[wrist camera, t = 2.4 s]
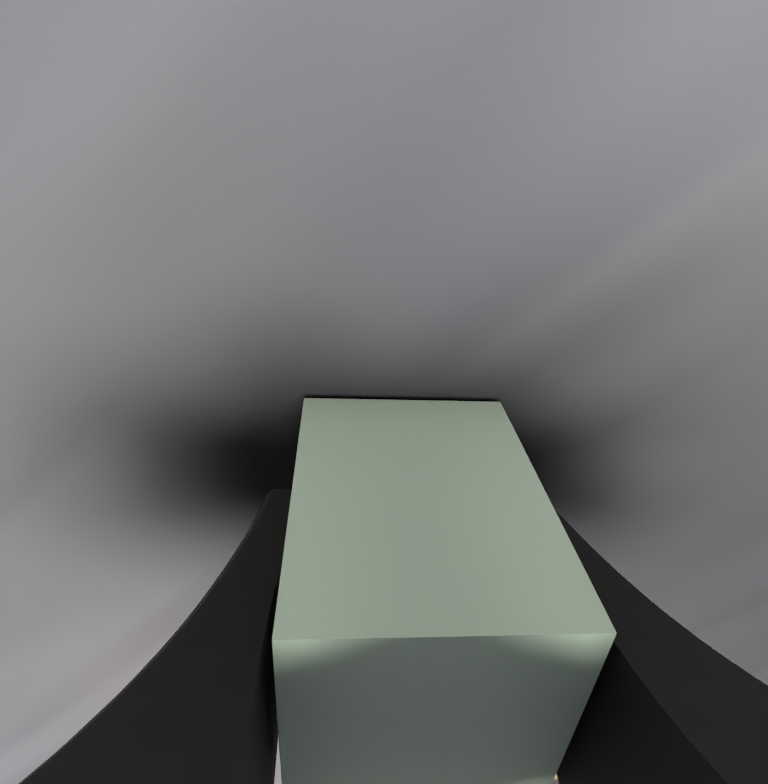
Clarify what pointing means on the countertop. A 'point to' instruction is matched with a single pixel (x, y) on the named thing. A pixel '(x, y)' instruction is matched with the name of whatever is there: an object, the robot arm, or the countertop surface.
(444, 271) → the countertop surface
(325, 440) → the green block
